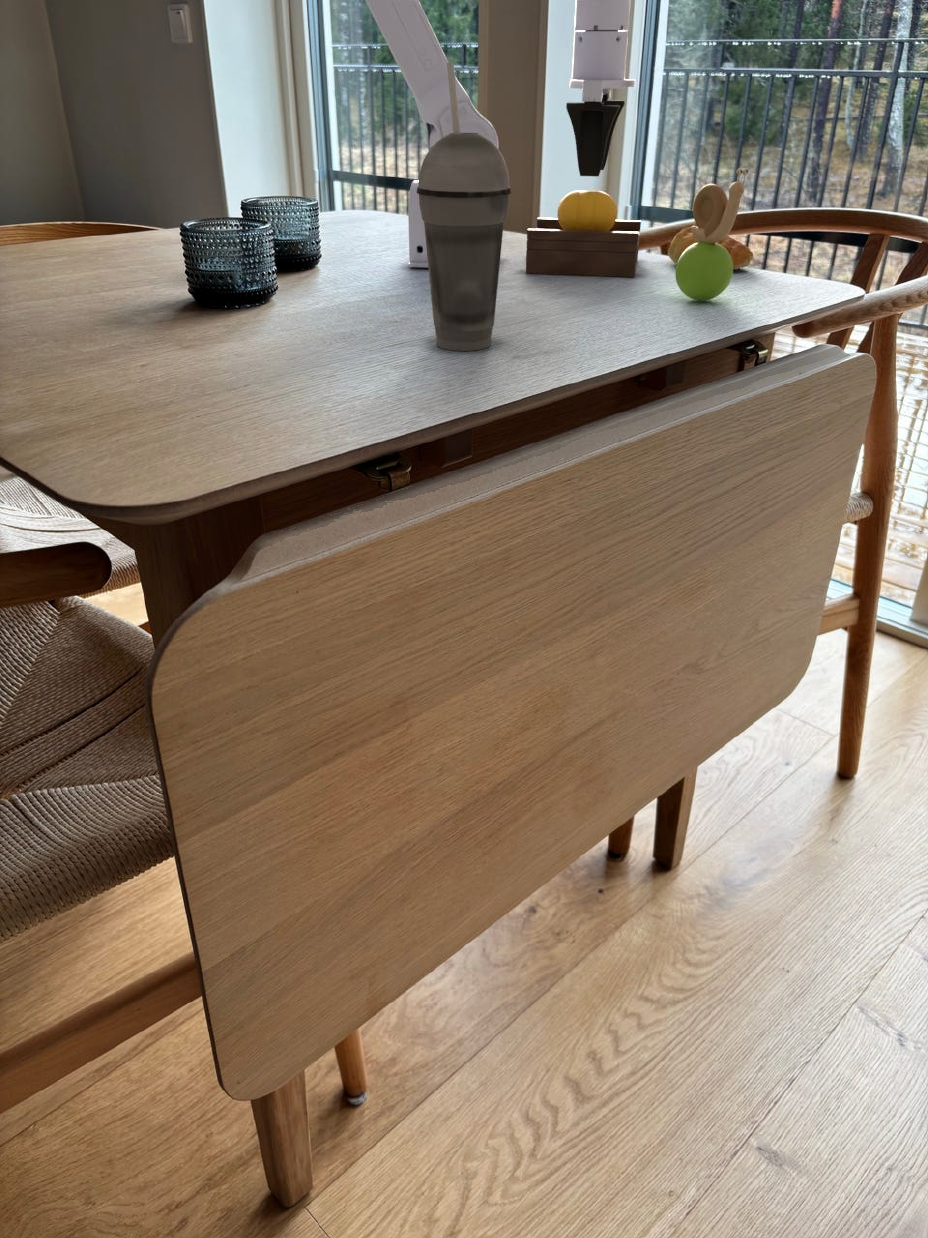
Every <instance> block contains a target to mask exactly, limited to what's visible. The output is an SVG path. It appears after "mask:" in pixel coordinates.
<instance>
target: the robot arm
mask: <svg viewBox="0 0 928 1238" xmlns="http://www.w3.org/2000/svg"><path fill="white" fill-rule="evenodd" d="M631 1H632V0H575V11H574V12H575V13H574V29H573V49H572V52H573V53H572V67H571V69H572V70H571V79H569V88H570V89H578V90H582V91H581V93H582V94H581V101H580V102H579V101H577V102H575V101H573V102H572V101H571V102H570V101H569V102H566V103H565V104H566V105H565V108H566V112H567V114H568V116H569V119H570V122H571V126H572V130H573V133H574V139H575V147H576V158H577V167H578V173H579V176H580V177H600V175H601V171H605V167H606V165H607V162H608V157H609V152H610V147H611V143H612V138H613V134H614V130H615V127H616V124H617V122H618V119H619V117H620V115H621V113H622V111H623V108H624V107H625V105H626V103H625V102H626V100H624V99H611V94H612V93H611V92H612V90H614V89H615V90H616V89H618V90H619V89H626V88H634V87H636V79H626V65H627V52H628V42H629V41H628V40H629V28H630V15H631V13H630V12H631ZM364 2H365V3H366V5H367V7H368V9H369V11H370V13H371V14H372V17H373V19H374V21H375V23H376V25H377V27H378V29H379V31H380V32H381V35H382V37H383V39H384V41H385V43H386V44H387V46H388V49H389V51H390V52H391V55H392V57H393V58H394V61H395V63H396V64H397V66H398V68H399V71H400V72H401V75H402V77H403V78H404V80H405V83H406V84H407V87H408V89H409V90H410V93H411V95H412V96H413V98H414V100H415V104H416V107H417V111H418V115H419V117H420V119H421V121H422V123H423V125H424V128H425V131H426V142H427V143H426V146H427V150H428V151H429V150H430V149H431V147H432V146H433V145H434V144H435V143H436V142H437V141H438V140H440V139H441V138H442V137H444V136H446V135H448V134H450V133H453V125H452V114H451V103H450V92H449V81H448V70H447V63H449V61H448V58H447V56H446V55H445V52H444V51H443V47H442V46H441V44H440V42H439V39H438V37H437V35H436V33H435V31H434V29H433V27H432V25H431V23H430V21H429V18H428V16H427V14H426V11H425V10H424V8H423V6H422V4H421V2H420V0H364ZM455 83H456V94H457V105H458V115H459V126H460V133H478V134H480V135H482V136H484V137H486V138H487V139H489V140H490V141H491V142H492V143H493V144H494V145H495V146H496V147H497V148H498V149H499V146H500V145H499V138H498V137H499V136H498V134H497V131H496V129H495V126H494V125H493V124H492V123H491V122H490V121H489V119H487V118H486V117H484V116H483V115H482V114H481V113H480V112H479V111H478V110H477V109H476V107H475V105H474V104H473V102H472V100H471V98H470V96H469V95H468V93H467V92H466V90H465V89H464V87H463V85H462V84H461V83H460V82H459V80H458V78H457V77H456V76H455ZM418 184H419V179H417V180H413V181H412V182H411V185H410V187H409V192H408V203H407V208H408V209H407V211H408V212H407V213H408V214H407V215H408V217H407V218H408V253H409V254H408V255H409V258H408V260H409V262H408V263H407V267H408V268H421V269H422V268H423V269H424V268H425V269H428V258H427V248H426V237H425V227H424V221H423V220H422V215H421V210H420V205H419V194H418V193H416V192H417V187H418Z"/></svg>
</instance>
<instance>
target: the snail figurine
mask: <svg viewBox="0 0 928 1238" xmlns="http://www.w3.org/2000/svg"><path fill="white" fill-rule="evenodd" d="M735 172H736V175H738V179H737V181H734V182H732V183H731V185H730V186H729V189H728V196H727V193H726V192H725V190H724V189H723V188H722V187H721V186H720V185H718V184H715V183H708V184H705V185H704V186H702V187H701V188H700V189H699V190H698V192H697V193H696V194H695V197H694V199H693V204H692V215H693V216H692V217H693V220H694V222H695V224H696V225H692V226H690V227H691V231H692V234H693V236H694V238H695V239H696V240H697V241H699V242H697V243H695V244H693V245H691V246H690V247H688V248H687V249H686V250H685V251H684V252H683V253H682V254H681V256H680V258H679V260H678V262H677V263H676V264H675V271H674V272H675V273H674V275H675V281H676V284H677V287H678V289H679V290H680V291H681V293H683V295H684V296H686V297H688V298H689V299H691V300H695V301H700V302H701V301H703V302H705V301H709V300H712V299H715V298H717V297H719V296H720V295H721V294H722V293H724V291H725V290H726V289H727V288H728V287H729V285H730V283H731V281H732V278H733V274H734V269H733V262H732V259H731V256H730V254H729V253H728V251H727V250H726V249H725V248H724V247H723V246H722V245H720V244H718V243H717V242H719V241H721V240H723V239H724V238H725V237H726V236H729V234H730V232H731V231H732V230H733V229H732V228H733V226H734V224H735V221H736V219H737V216H738V212H739V209H740V204H741V199H742V197H743V195H744V192H745V186H744V185H745V180H746V175H747V174H748V173H749V169H748V168H747V167H744V168H740V167H739V168H737V169H736V171H735ZM742 175H743V176H744V177H743V182H741V181H740V176H742Z"/></svg>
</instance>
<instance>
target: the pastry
mask: <svg viewBox="0 0 928 1238" xmlns="http://www.w3.org/2000/svg"><path fill="white" fill-rule="evenodd" d="M691 227H692V226H689V227H683V228H682V229H681V230H680V231H679V232H677V233H676V234H675V235H674V237H673V239H672V241H671V243H670V245H669V246H668V247H669V248H668V251H667V255H668V257H669V259H670V260H671V261H672V262H673V263H674V264H675V265H677V262H678V260H679V258H680V256H681V254H682V253H683V252H684V251H685V250H686V249H687V248H688V247H690V246H691V245H693V244H695V243H697V242H699V241H697V240H696V239H695V238H694V236H693V234H692V231H691ZM717 243H718V244H720V245H722V246H723V247H724V248H725V249H726V250H727V251H728V253H729V254H730V256H731V259H732V262H733V270H738V269H741V268H742V269H743V268H744V267H749V266H750V265H751V262H752V260H753V259H754V253H753V252H752V250H751V249H750V248H749V247H748V246H747V245H745V244H744V243H742V242H740V241H738V240H736V239H735V238H732V236H731V237H730V236H729V235H727V236H726V237H725V238H724V239H723V240H721V241H719V242H717Z"/></svg>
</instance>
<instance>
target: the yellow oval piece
mask: <svg viewBox="0 0 928 1238" xmlns="http://www.w3.org/2000/svg"><path fill="white" fill-rule="evenodd" d="M556 213H557V214H556V215H557V216H556V218H558V221H559V224H560V226H561V227H562V229H563V230H587V231H609V230H610V229H611V228H612V227H613V225H614V223H615V221H616V220H617V218H618V207H617V204H616V202H615V200H614V199H613V197H612V196H611V195H610V194H608V192H605V191H602V190H582V189H581V190H573V191H571V192H568V193H567V194H566V195H565V196H563V198H562V199H561V200H560V202H559V204H558V206H557V212H556Z"/></svg>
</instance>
